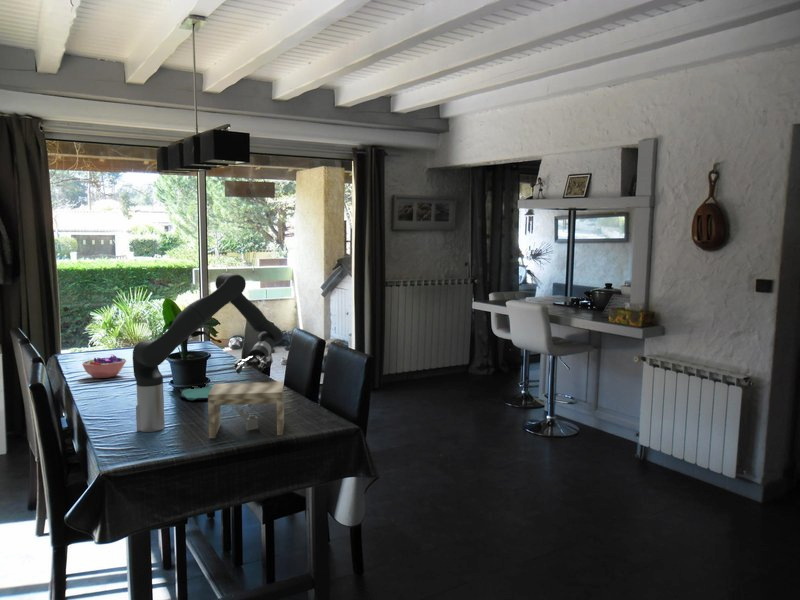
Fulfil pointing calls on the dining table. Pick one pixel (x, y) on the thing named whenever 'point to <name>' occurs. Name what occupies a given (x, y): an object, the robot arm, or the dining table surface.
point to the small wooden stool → (244, 400)
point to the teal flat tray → (196, 393)
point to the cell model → (104, 366)
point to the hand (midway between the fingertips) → (248, 370)
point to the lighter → (249, 421)
